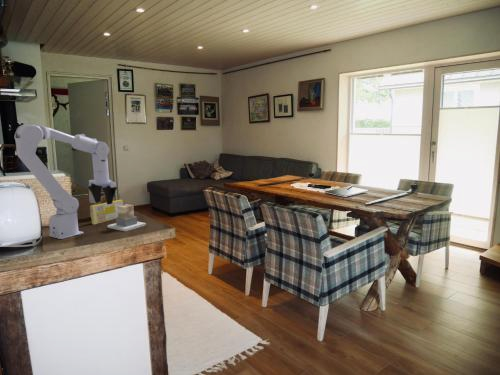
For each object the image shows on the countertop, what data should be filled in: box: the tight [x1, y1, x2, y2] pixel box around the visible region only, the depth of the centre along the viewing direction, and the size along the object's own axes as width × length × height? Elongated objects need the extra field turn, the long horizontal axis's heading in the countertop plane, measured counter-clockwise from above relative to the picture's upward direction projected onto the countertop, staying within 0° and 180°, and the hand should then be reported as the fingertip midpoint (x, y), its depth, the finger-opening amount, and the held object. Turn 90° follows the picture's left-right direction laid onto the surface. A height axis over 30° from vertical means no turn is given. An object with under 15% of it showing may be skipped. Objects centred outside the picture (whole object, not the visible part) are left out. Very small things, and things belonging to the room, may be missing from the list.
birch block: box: [118, 203, 135, 219], centre depth 150 cm, size 4×4×5 cm
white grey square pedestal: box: [107, 215, 147, 232], centre depth 151 cm, size 11×11×4 cm
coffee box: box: [88, 184, 115, 218], centre depth 167 cm, size 9×6×16 cm
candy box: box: [89, 199, 124, 225], centre depth 161 cm, size 16×2×8 cm, turn 149°
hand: (103, 203), depth 148 cm, fingers open, 7 cm apart
